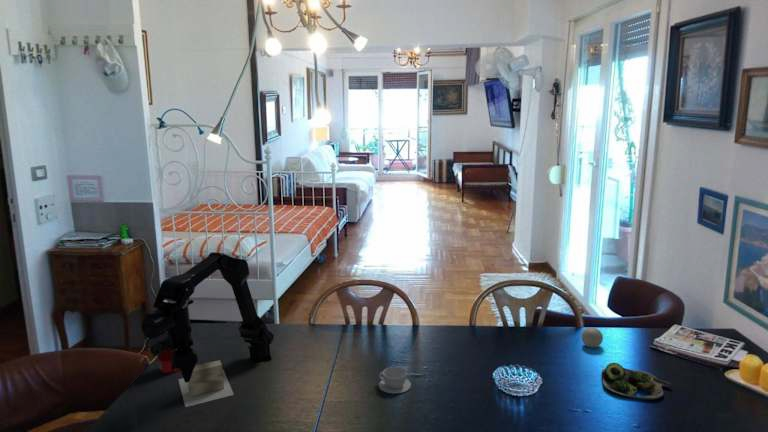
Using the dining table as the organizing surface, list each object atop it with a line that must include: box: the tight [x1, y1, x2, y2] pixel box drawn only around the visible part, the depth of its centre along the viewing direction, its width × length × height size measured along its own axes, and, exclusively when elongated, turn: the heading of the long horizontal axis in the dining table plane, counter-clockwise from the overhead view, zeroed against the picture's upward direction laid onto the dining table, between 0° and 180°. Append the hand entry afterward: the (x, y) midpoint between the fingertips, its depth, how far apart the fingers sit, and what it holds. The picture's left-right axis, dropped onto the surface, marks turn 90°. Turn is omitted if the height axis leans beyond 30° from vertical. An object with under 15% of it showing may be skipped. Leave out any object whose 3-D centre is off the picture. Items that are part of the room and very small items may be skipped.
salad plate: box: [600, 362, 672, 400], centre depth 166 cm, size 19×18×5 cm
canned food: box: [157, 348, 181, 375], centre depth 182 cm, size 8×8×11 cm
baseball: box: [581, 327, 604, 349], centre depth 191 cm, size 7×7×7 cm
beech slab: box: [188, 359, 224, 397], centre depth 168 cm, size 10×4×8 cm, turn 116°
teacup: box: [378, 366, 412, 395], centre depth 169 cm, size 10×10×5 cm
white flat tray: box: [178, 368, 235, 408], centre depth 171 cm, size 14×18×1 cm
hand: (185, 374), depth 156 cm, fingers open, 9 cm apart
